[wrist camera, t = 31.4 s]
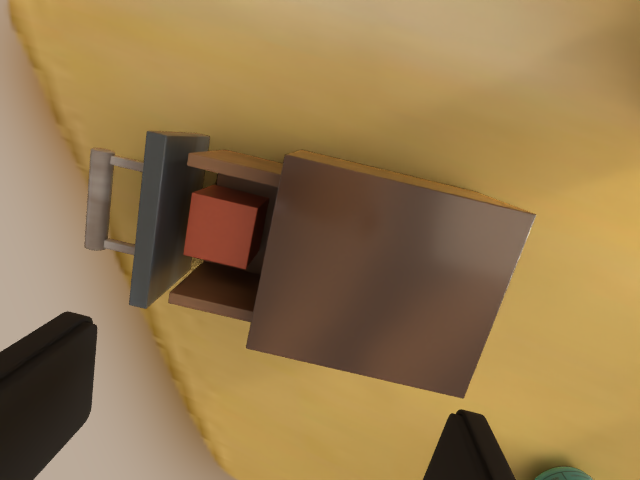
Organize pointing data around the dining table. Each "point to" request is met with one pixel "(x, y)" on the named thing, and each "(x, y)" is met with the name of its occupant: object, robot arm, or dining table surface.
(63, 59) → the dining table surface
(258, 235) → the block
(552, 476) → the beverage bottle
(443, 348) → the cabinet
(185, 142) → the drawer
